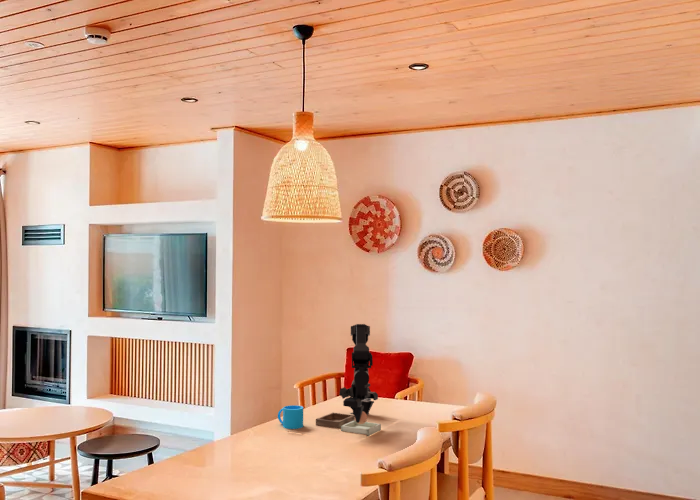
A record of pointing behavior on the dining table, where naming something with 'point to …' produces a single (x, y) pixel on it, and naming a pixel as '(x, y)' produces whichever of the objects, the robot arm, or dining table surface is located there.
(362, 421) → the ball
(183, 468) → the dining table surface
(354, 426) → the tray
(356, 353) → the robot arm
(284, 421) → the mug
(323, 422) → the walnut box
